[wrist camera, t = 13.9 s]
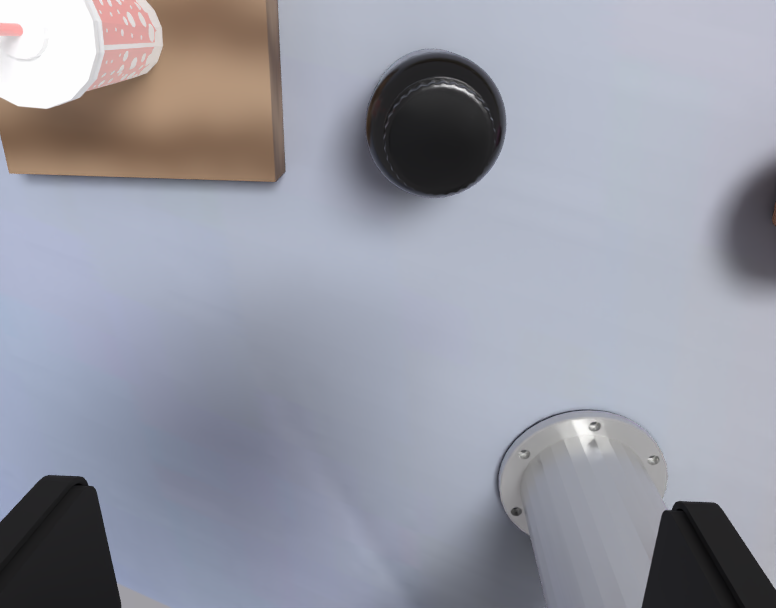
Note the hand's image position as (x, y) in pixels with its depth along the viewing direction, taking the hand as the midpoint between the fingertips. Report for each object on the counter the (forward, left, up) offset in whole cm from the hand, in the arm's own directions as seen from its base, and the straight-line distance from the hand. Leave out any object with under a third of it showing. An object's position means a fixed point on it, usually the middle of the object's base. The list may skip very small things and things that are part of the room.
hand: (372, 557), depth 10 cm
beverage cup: (+8, +16, -28) cm, 33 cm away
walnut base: (+8, +16, -31) cm, 35 cm away
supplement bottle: (+4, -1, -31) cm, 31 cm away
